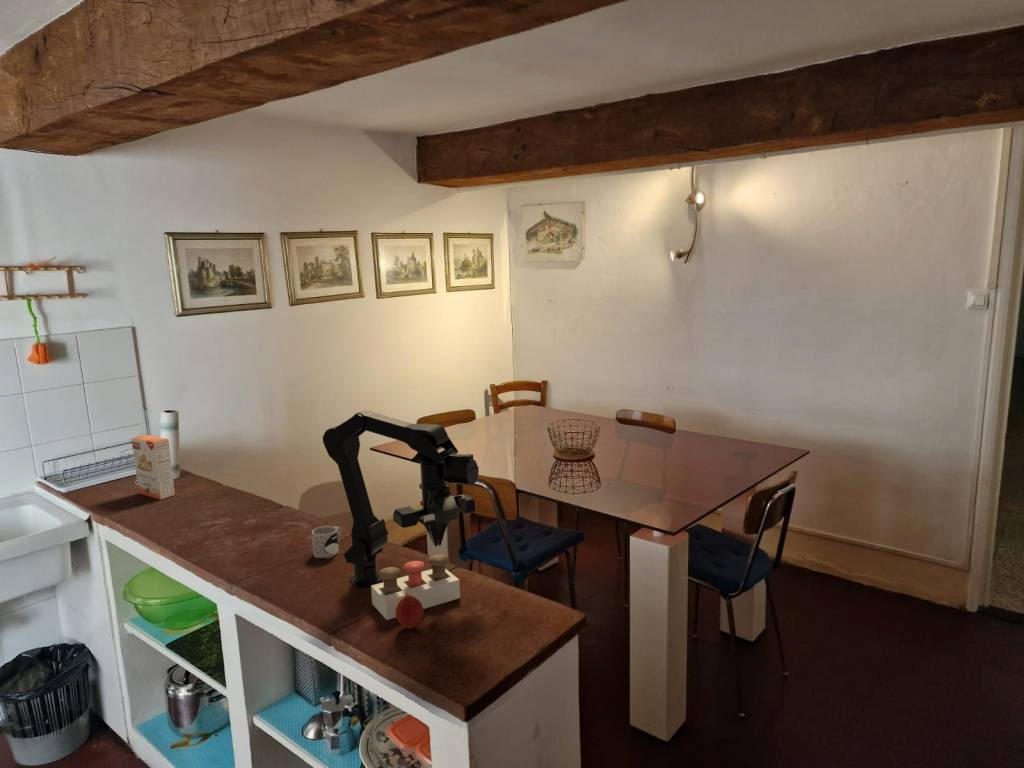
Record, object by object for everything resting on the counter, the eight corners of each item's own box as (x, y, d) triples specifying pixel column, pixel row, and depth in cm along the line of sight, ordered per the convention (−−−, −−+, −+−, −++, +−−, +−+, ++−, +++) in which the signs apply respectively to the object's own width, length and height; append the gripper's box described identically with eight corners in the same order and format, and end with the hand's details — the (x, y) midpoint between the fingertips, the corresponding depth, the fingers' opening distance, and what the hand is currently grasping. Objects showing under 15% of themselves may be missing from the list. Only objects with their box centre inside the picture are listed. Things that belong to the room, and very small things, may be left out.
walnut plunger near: (377, 593, 158) (376, 570, 157) (396, 588, 160) (395, 565, 159) (385, 601, 154) (383, 577, 153) (404, 595, 156) (403, 572, 155)
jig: (372, 604, 160) (371, 585, 159) (443, 583, 169) (442, 566, 168) (386, 620, 152) (385, 600, 151) (460, 597, 161) (459, 579, 160)
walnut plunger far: (426, 579, 164) (424, 557, 163) (443, 574, 166) (442, 553, 165) (434, 587, 160) (433, 564, 159) (452, 581, 162) (451, 559, 161)
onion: (425, 620, 151) (423, 586, 150) (422, 634, 146) (420, 598, 144) (398, 621, 151) (396, 587, 150) (394, 635, 145) (392, 599, 144)
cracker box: (137, 494, 248) (130, 437, 244) (154, 490, 253) (147, 433, 249) (159, 500, 240) (152, 441, 237) (176, 495, 245) (169, 437, 242)
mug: (329, 560, 185) (327, 536, 184) (308, 557, 187) (306, 533, 186) (350, 545, 195) (348, 522, 194) (329, 543, 197) (327, 520, 196)
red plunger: (402, 586, 161) (400, 564, 160) (420, 581, 163) (419, 559, 162) (410, 594, 157) (408, 571, 156) (428, 588, 159) (427, 565, 158)
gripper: (409, 498, 147) (413, 567, 150) (486, 481, 157) (489, 547, 159) (390, 485, 157) (394, 550, 159) (463, 470, 166) (466, 532, 169)
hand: (437, 545), depth 161 cm, fingers closed
